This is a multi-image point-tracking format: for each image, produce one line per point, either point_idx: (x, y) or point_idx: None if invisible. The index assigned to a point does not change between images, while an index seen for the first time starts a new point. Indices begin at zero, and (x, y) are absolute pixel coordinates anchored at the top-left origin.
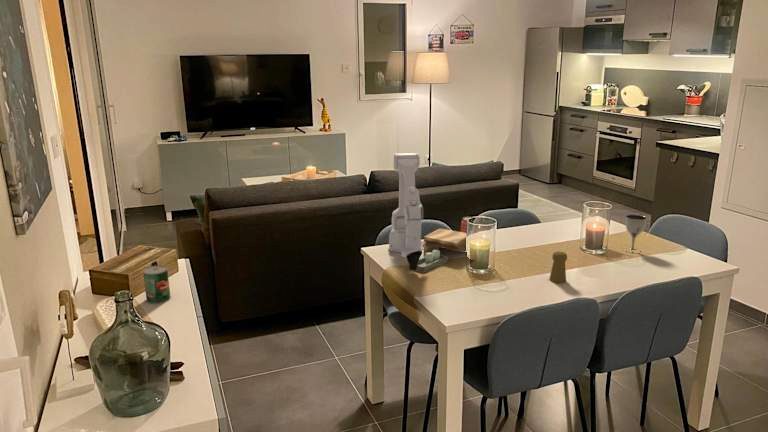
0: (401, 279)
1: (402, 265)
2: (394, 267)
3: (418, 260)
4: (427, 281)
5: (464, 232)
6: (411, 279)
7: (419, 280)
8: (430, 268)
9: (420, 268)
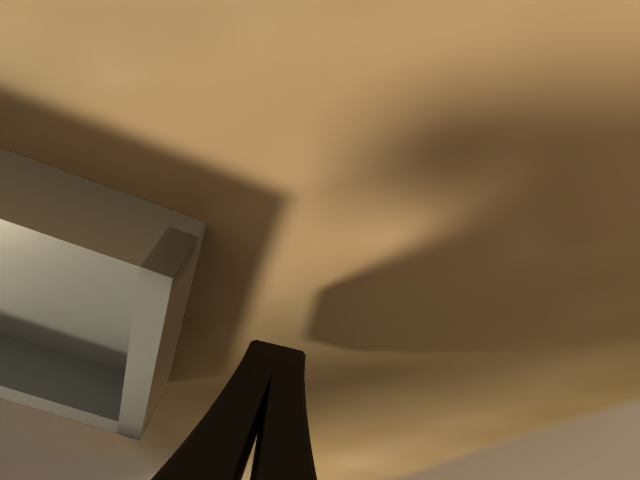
0: (556, 398)
1: None
2: None
3: (178, 467)
4: (630, 37)
5: None
6: (543, 306)
7: (578, 197)
8: (4, 157)
9: (177, 294)
